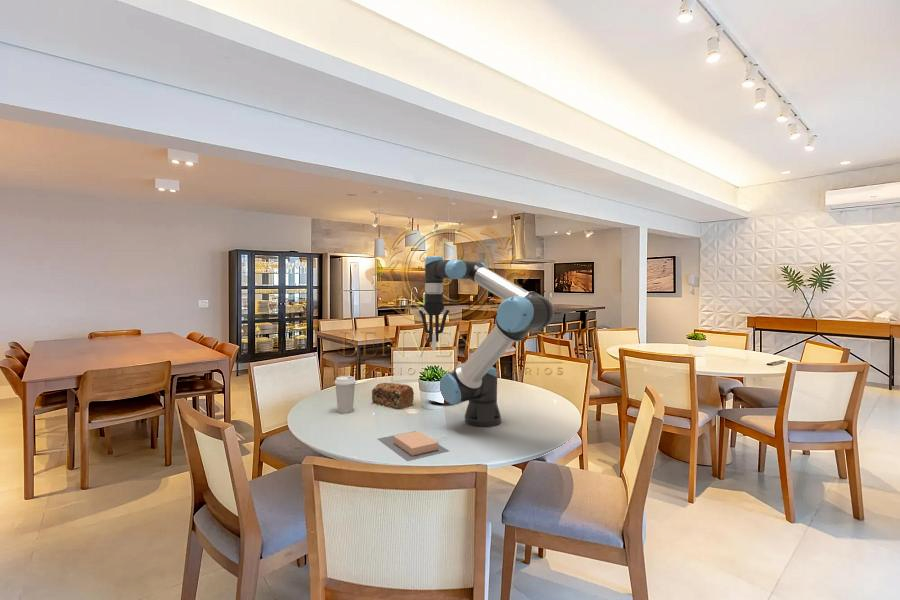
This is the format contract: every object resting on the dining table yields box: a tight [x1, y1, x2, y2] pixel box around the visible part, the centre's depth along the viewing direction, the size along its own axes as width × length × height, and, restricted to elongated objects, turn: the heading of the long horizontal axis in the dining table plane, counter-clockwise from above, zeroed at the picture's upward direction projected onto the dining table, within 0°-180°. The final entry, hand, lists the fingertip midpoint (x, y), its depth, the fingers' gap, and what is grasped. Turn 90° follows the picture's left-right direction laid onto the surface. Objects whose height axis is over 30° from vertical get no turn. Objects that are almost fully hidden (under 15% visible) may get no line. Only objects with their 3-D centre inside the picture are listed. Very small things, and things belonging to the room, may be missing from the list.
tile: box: [392, 430, 439, 456], centre depth 148 cm, size 3×10×14 cm
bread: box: [371, 382, 415, 410], centre depth 205 cm, size 19×11×10 cm, turn 52°
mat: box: [377, 430, 450, 462], centre depth 151 cm, size 24×16×1 cm, turn 33°
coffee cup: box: [333, 375, 357, 414], centre depth 193 cm, size 10×10×15 cm
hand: (433, 349), depth 180 cm, fingers closed
